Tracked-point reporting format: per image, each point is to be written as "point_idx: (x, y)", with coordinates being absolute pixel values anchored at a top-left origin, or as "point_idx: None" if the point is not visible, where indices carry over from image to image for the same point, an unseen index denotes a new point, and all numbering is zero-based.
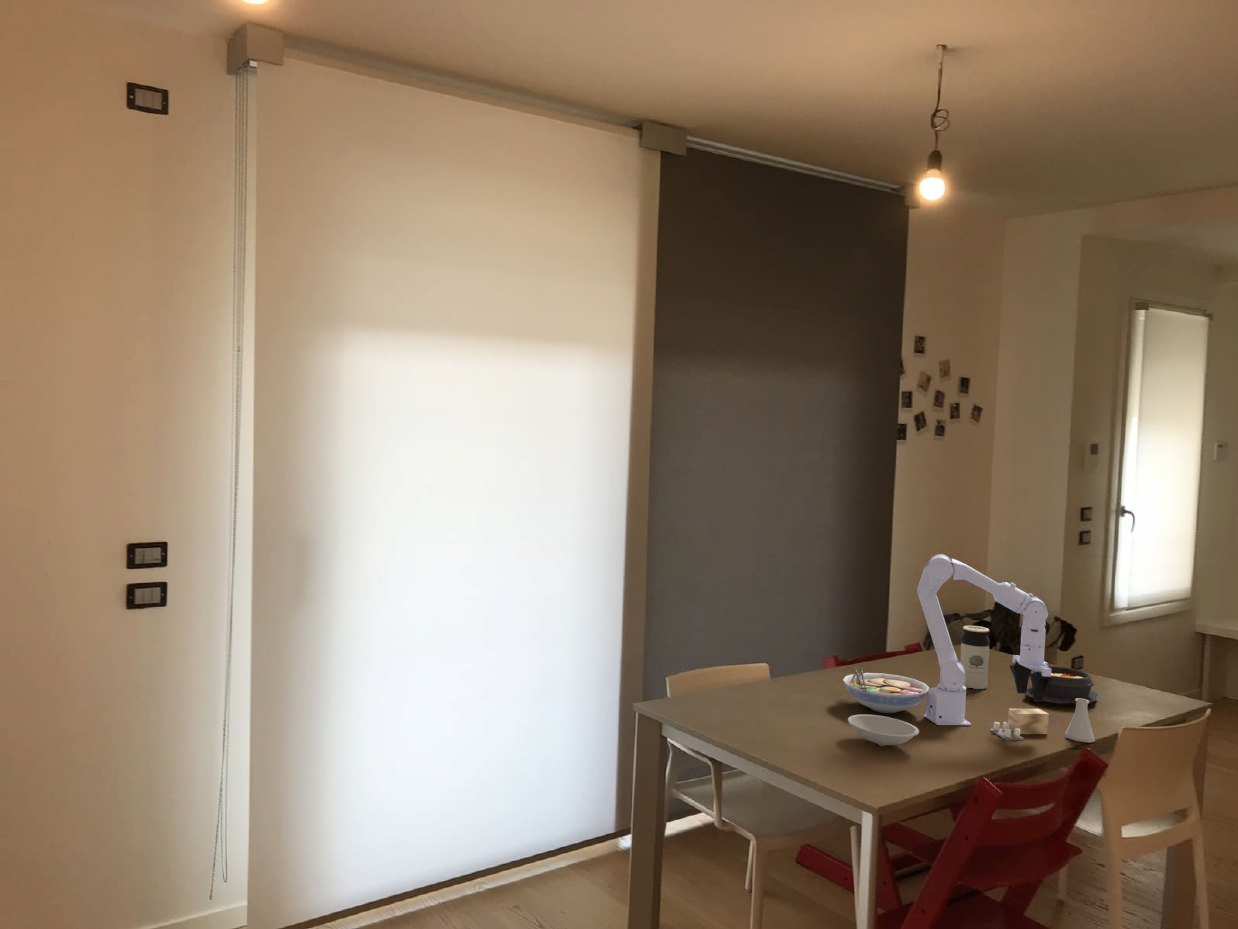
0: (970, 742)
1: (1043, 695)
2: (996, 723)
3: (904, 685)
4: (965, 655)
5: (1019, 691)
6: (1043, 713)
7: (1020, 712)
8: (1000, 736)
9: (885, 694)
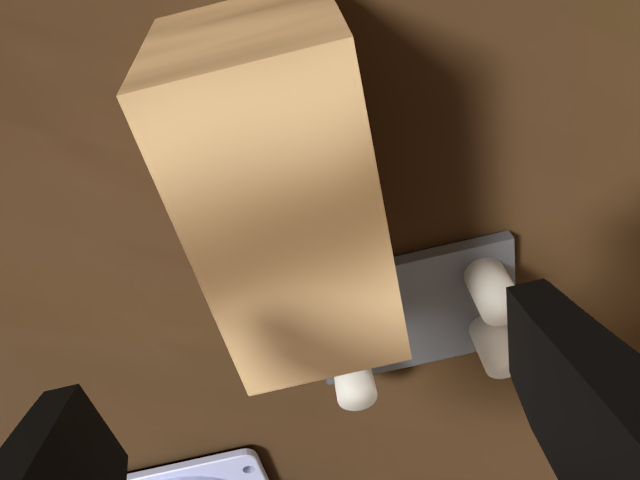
0: (550, 471)
1: (617, 350)
2: (373, 402)
3: None
4: None
5: (119, 474)
6: (350, 108)
7: (362, 333)
8: (458, 350)
9: None
